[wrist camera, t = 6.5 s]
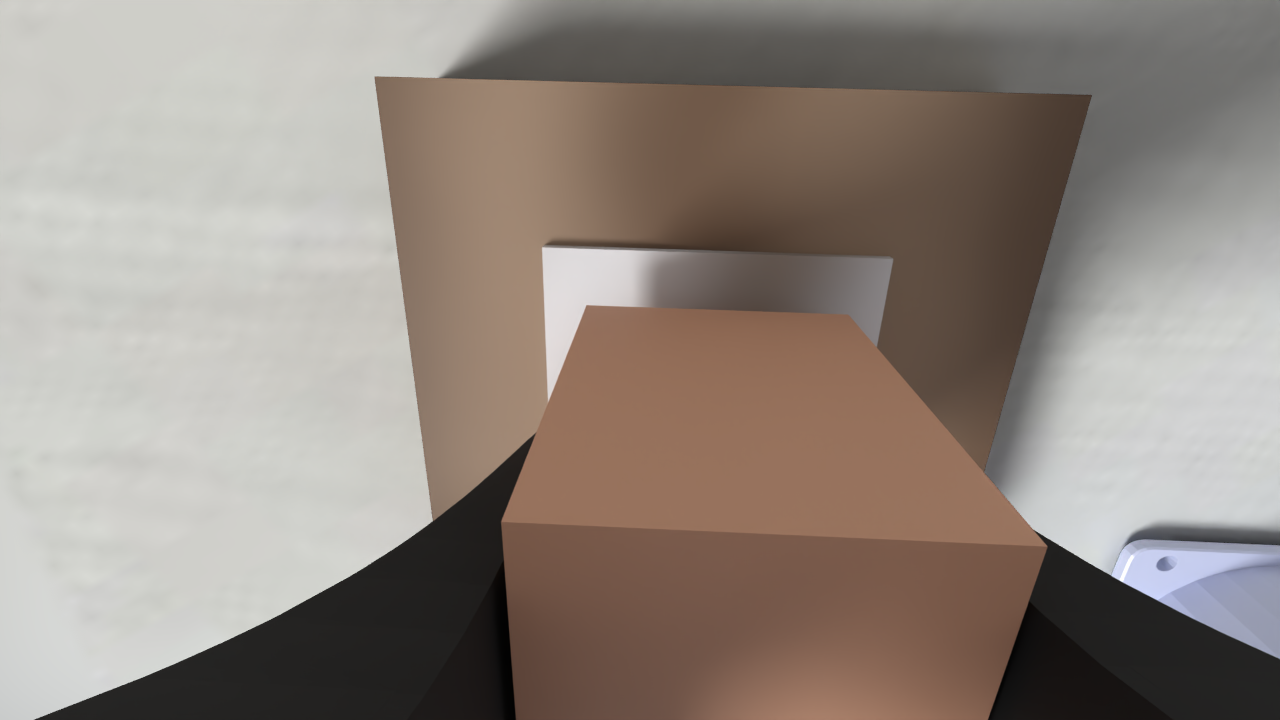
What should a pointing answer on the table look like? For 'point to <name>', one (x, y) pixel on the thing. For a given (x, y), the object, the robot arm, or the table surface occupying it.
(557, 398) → the terracotta cube
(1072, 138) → the walnut pedestal
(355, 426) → the table surface
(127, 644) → the table surface
